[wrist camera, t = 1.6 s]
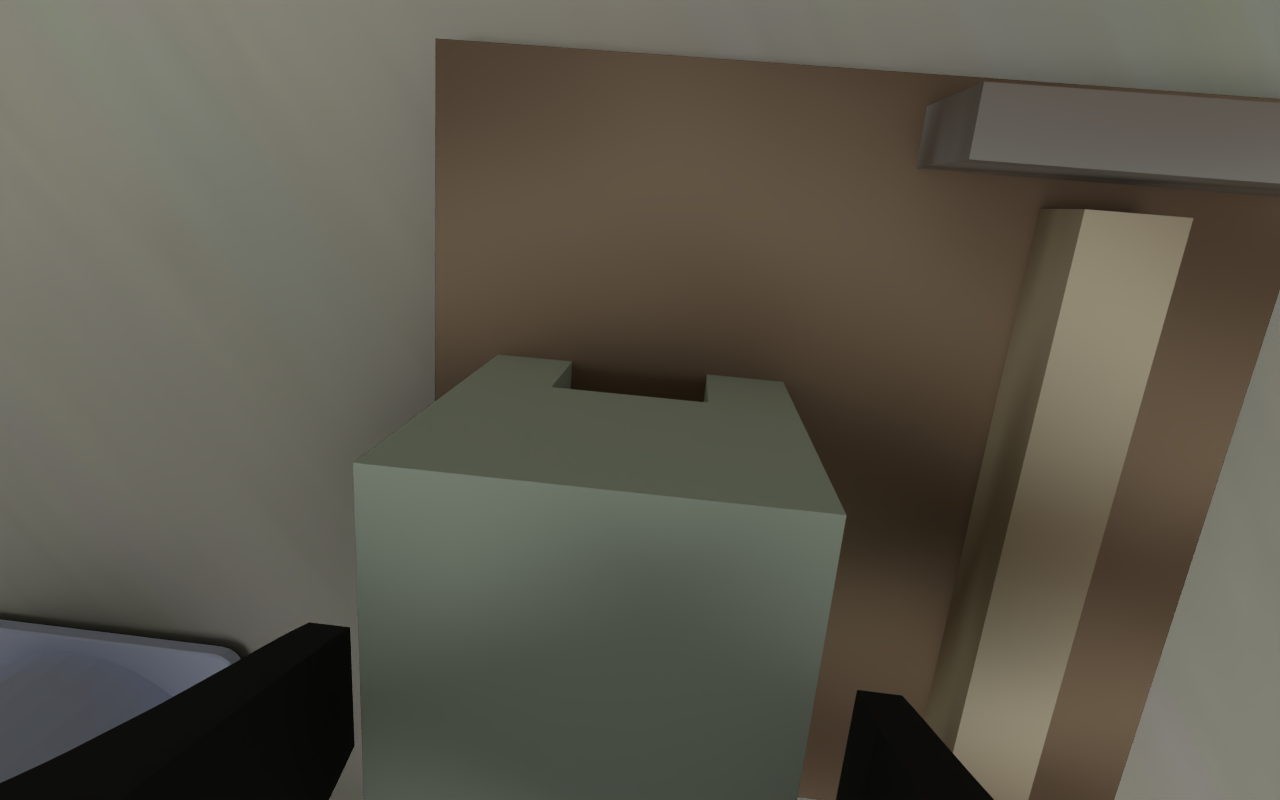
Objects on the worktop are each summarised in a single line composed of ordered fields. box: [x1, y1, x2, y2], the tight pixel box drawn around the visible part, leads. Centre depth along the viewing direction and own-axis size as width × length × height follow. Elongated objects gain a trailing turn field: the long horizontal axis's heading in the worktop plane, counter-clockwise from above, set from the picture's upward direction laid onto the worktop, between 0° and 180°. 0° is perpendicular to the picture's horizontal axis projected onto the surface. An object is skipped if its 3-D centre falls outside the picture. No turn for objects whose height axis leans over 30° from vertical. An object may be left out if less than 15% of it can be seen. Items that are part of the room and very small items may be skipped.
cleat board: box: [435, 39, 1280, 800], centre depth 13 cm, size 15×15×4 cm
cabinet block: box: [353, 354, 846, 800], centre depth 12 cm, size 8×6×6 cm
